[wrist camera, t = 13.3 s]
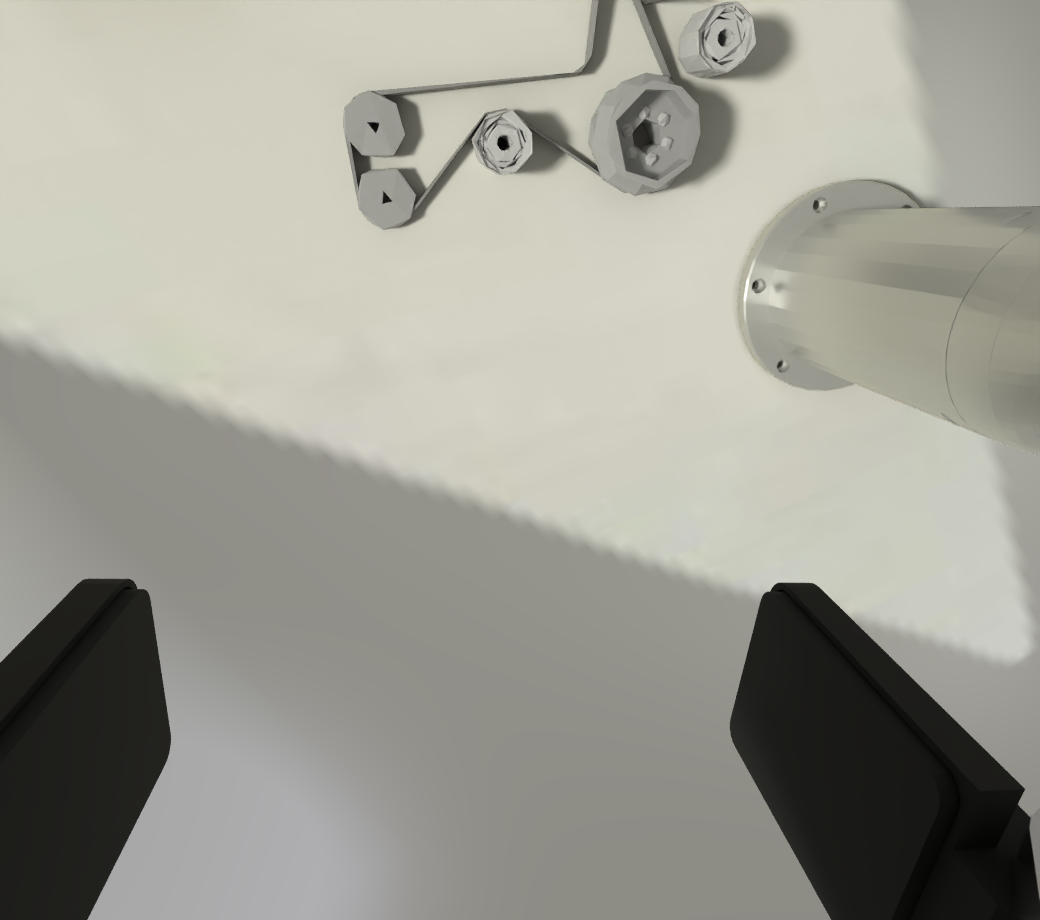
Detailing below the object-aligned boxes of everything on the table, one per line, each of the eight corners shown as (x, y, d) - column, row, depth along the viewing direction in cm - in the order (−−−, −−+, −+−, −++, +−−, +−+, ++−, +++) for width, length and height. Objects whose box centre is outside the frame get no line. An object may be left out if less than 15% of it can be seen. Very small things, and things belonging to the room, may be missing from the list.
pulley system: (846, -18, 34) (683, -311, 29) (905, -43, 30) (727, -394, 24) (502, 341, 40) (308, 159, 35) (512, 362, 36) (292, 158, 30)
